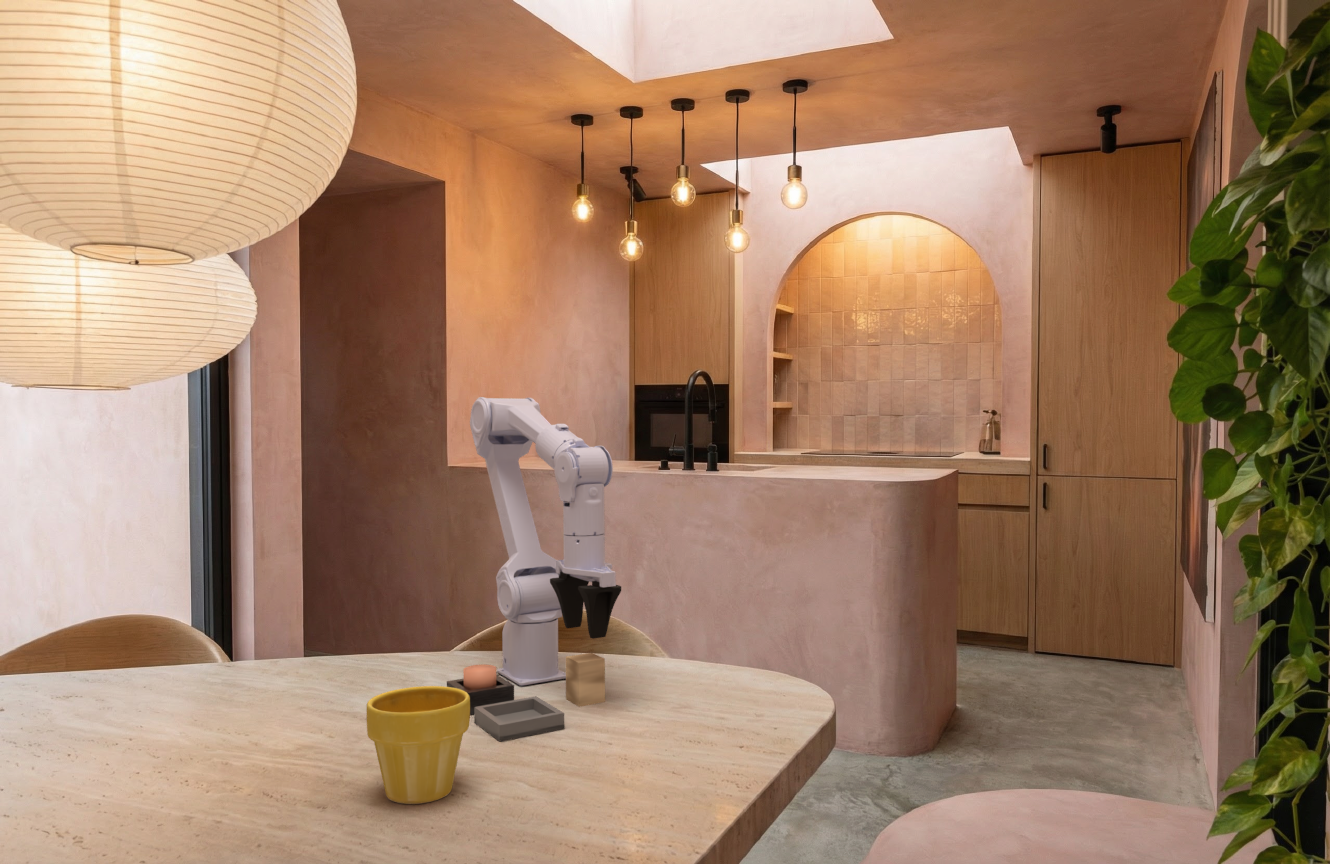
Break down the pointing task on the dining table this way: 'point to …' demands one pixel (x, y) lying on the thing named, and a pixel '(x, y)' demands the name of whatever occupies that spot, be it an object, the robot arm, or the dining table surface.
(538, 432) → the robot arm
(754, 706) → the dining table surface
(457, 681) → the button housing
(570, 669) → the block
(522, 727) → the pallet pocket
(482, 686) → the button
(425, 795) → the plant pot
